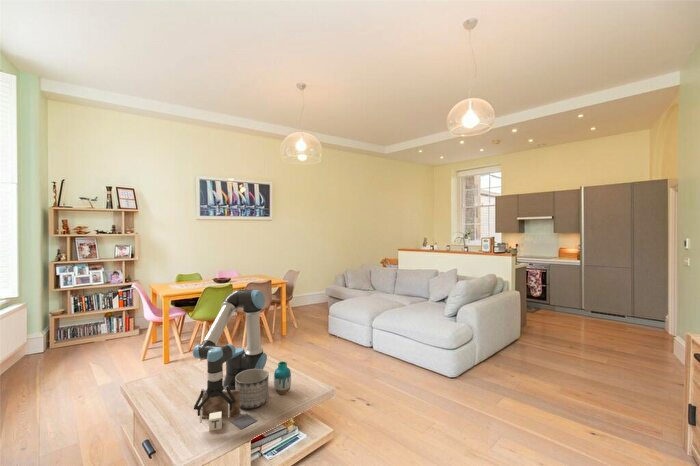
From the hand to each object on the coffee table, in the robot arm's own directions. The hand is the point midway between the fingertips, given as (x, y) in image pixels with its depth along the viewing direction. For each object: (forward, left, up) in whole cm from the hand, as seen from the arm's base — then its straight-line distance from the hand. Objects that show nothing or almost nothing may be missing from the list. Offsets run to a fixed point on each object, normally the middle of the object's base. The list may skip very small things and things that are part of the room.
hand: (215, 418), depth 173 cm
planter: (-5, +26, -5) cm, 27 cm away
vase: (0, +45, -5) cm, 46 cm away
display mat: (+8, +12, -4) cm, 15 cm away
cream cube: (0, 0, -4) cm, 4 cm away
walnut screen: (-8, +8, -4) cm, 12 cm away
